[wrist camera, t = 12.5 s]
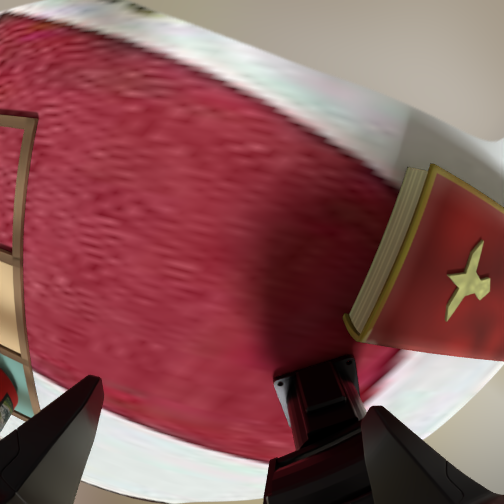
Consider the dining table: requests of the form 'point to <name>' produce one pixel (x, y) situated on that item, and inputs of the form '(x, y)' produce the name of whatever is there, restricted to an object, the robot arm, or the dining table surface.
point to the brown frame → (17, 286)
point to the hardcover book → (436, 272)
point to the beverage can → (6, 398)
